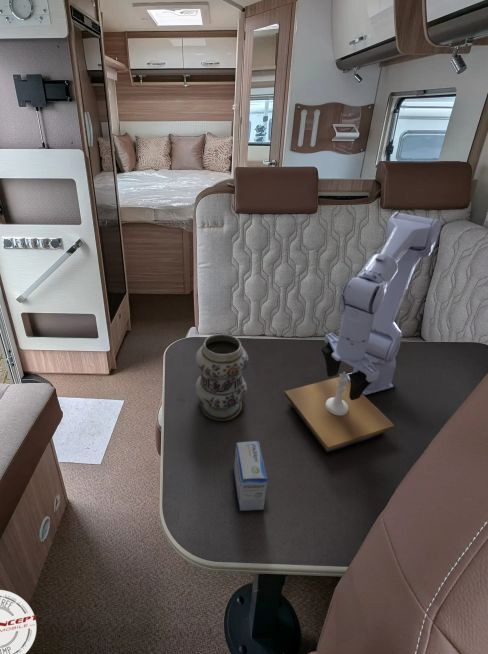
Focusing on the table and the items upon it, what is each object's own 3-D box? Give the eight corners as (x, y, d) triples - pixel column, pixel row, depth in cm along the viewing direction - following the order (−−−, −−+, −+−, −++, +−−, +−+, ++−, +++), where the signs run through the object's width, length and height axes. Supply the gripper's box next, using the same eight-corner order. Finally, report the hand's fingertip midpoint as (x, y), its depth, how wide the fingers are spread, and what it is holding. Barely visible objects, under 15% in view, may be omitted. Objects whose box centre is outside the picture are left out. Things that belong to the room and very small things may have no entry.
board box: (340, 387, 94) (343, 375, 92) (390, 438, 79) (394, 425, 77) (283, 403, 88) (284, 391, 86) (325, 461, 74) (328, 447, 72)
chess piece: (349, 417, 79) (358, 381, 75) (326, 413, 80) (333, 378, 76) (346, 401, 84) (354, 366, 79) (324, 398, 85) (331, 363, 80)
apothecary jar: (235, 384, 94) (238, 325, 86) (253, 418, 84) (258, 355, 76) (190, 393, 91) (189, 333, 83) (203, 429, 81) (203, 365, 73)
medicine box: (233, 472, 71) (235, 441, 68) (255, 470, 72) (258, 439, 68) (239, 512, 64) (242, 480, 61) (264, 510, 65) (268, 478, 61)
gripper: (316, 319, 78) (308, 369, 84) (362, 359, 66) (349, 414, 72) (343, 314, 80) (333, 363, 86) (393, 351, 68) (377, 405, 74)
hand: (342, 386), depth 79 cm, fingers open, 7 cm apart
